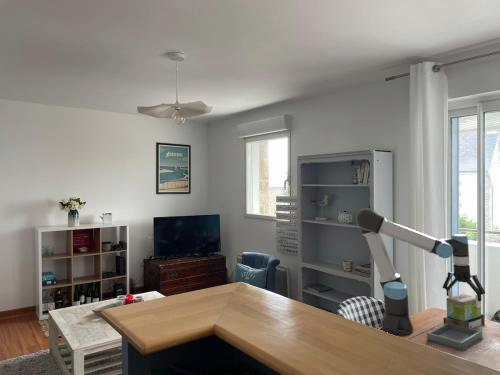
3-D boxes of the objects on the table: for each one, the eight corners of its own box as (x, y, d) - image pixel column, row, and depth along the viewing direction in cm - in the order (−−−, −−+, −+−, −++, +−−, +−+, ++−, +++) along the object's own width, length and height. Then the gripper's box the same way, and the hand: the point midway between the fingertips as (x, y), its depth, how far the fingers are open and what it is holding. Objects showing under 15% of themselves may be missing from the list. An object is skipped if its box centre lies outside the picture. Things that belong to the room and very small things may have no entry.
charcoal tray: (427, 340, 179) (426, 333, 179) (448, 329, 192) (447, 322, 192) (462, 350, 167) (462, 342, 167) (482, 338, 179) (482, 331, 180)
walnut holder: (443, 327, 196) (443, 317, 196) (460, 318, 207) (460, 309, 208) (468, 333, 186) (467, 323, 186) (484, 324, 198) (484, 314, 198)
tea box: (465, 331, 189) (464, 302, 189) (446, 326, 197) (445, 297, 198) (482, 325, 196) (480, 297, 197) (463, 320, 205) (461, 293, 205)
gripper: (490, 265, 190) (493, 307, 189) (440, 260, 210) (443, 298, 209) (484, 268, 185) (487, 311, 185) (434, 262, 205) (436, 301, 204)
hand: (464, 304), depth 197 cm, fingers open, 13 cm apart
